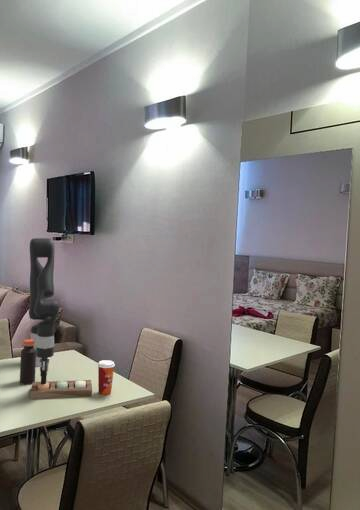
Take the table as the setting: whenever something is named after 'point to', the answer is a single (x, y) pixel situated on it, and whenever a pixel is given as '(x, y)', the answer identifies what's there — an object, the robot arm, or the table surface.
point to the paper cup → (105, 376)
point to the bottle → (28, 362)
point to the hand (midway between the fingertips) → (43, 383)
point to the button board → (60, 390)
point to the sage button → (62, 384)
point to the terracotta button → (43, 385)
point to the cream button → (80, 384)
